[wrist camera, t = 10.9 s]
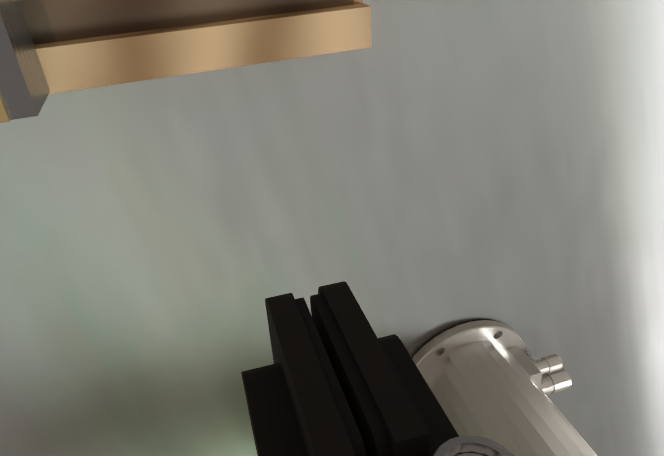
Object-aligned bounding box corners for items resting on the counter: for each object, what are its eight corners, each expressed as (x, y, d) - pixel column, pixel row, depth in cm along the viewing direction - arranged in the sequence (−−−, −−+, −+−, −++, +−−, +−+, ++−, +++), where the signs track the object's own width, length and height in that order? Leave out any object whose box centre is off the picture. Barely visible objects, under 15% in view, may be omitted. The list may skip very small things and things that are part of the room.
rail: (343, -88, 28) (379, -88, 24) (349, 36, 31) (381, 54, 27) (-143, -47, 23) (-204, -38, 19) (-76, 95, 26) (-116, 129, 22)
